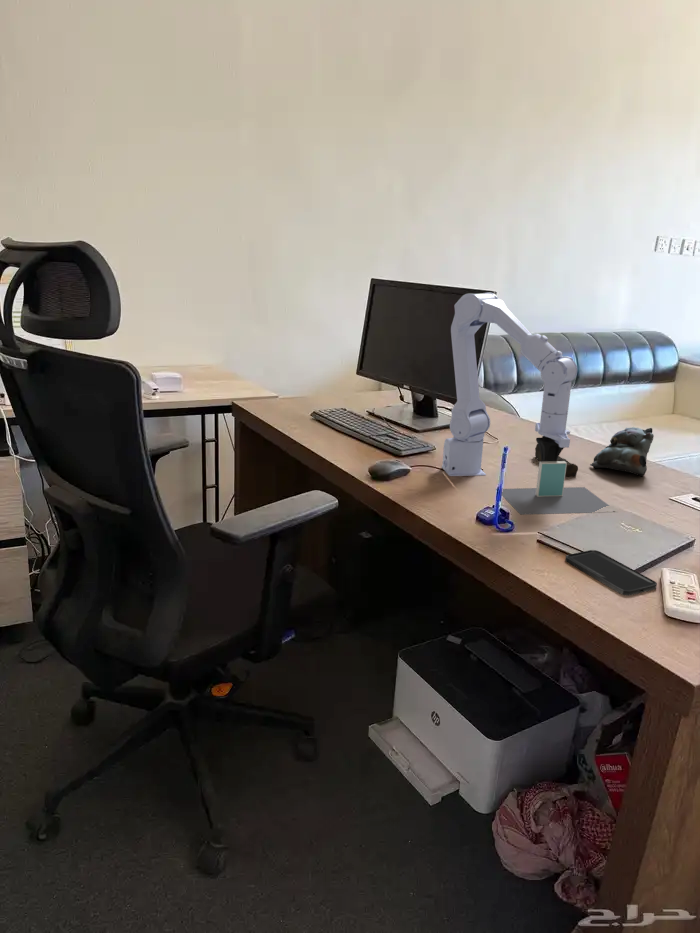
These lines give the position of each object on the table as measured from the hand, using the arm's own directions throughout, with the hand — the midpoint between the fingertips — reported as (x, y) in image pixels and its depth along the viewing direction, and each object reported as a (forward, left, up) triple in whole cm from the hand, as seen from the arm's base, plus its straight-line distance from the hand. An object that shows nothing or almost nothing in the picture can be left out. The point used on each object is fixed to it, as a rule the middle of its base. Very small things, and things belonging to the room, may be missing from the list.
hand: (547, 469), depth 156 cm
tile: (0, -2, -6) cm, 6 cm away
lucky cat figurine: (+27, +15, -6) cm, 31 cm away
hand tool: (+10, +20, -6) cm, 23 cm away
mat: (0, -5, -6) cm, 8 cm away
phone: (-5, -40, -6) cm, 41 cm away
